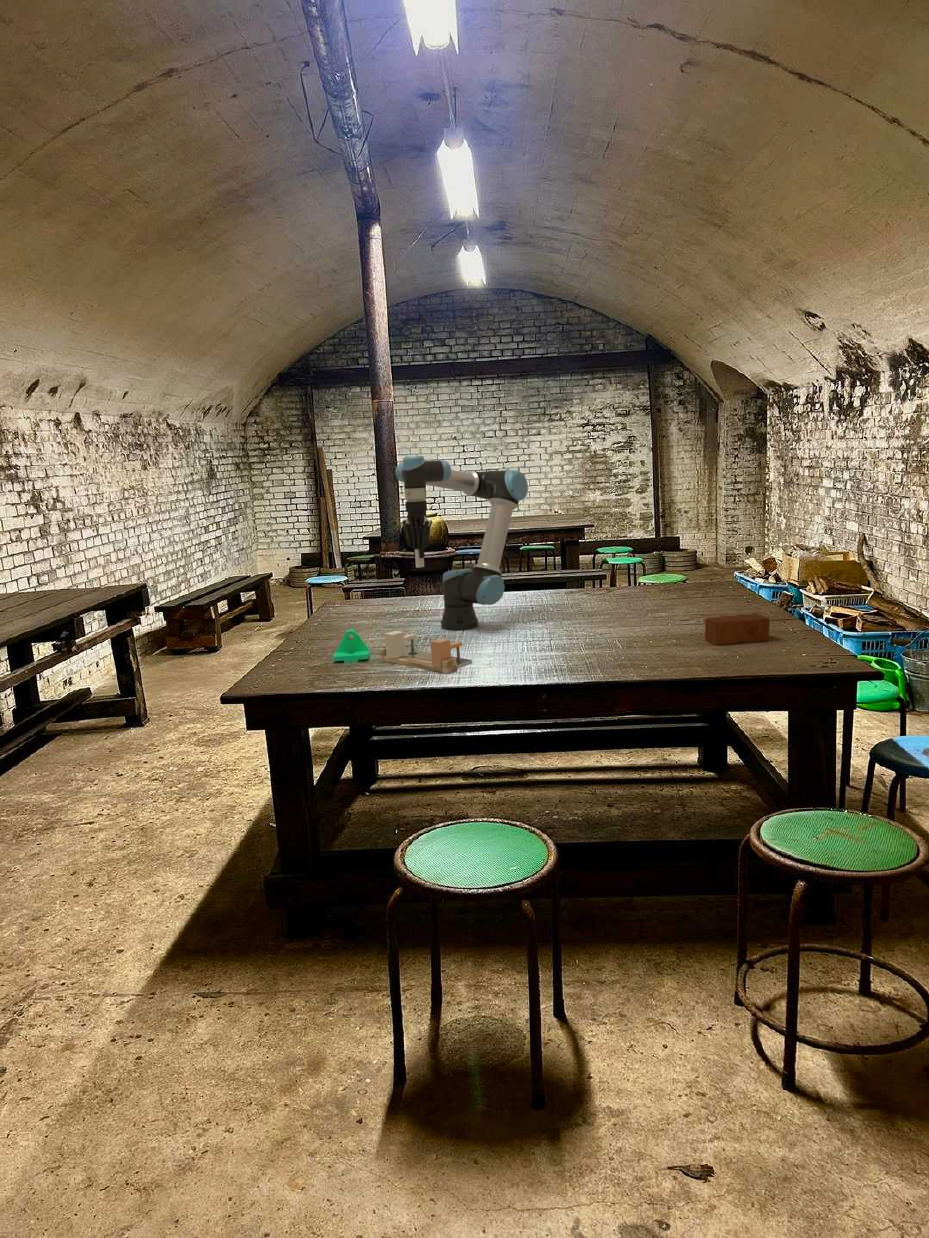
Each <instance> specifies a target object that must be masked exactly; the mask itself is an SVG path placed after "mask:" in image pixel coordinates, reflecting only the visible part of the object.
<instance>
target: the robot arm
mask: <svg viewBox="0 0 929 1238" xmlns="http://www.w3.org/2000/svg"><path fill="white" fill-rule="evenodd" d="M395 476H396V478H397V481H399V482H401V483H403V486H404V500H406V501H405V512H406V513H407V516H406V517H407V518H406V519H404V520H402V524H403V526H404V529H405V530H404V531H405V534H406V538H407V542H408V546H409V547H410V548H412V549H413V556H414V558H415V568H417V569H420V568H424V567H425V557H426V556H425V549H426V548H428V547H429V545H430V538H431V537H430V536H431V526H432V525H433V520H432V519H431V520H430V519H428V516H427V510H428V504H427V503H428V501H426V499H427V489H426V487H427V486H431V487H436V488H440V489H447V490H453V491H458V492H463V493H464V495H467V496H471V497H474V498H475V497H476V498H480V499H484V500H488V502H489V504H490V505H491V506H490V511H489V515H488V519H487V523H486V528H485V531H484V535H483V540H482V543H481V547H480V552H479V557H478V560H477V564H474V566H472V569H471V568H462V569H454V570H450V571H445V572H444V573H443V575H442V592H443V593H442V594H443V603H444V605H443V606H444V609H443V612H442V616H441V617H442V618H441V620H440V624H441V625H440V627H441V629H444V630H449V631H464V630H465V631H466V630H470V629H475V628H477V627H478V626H479V619H478V617H477V615H476V612H475V608H474V604H478V605H483V606H487V605H488V606H490V605H491V606H492V605H495V604H496V603H498V602H499V601H500V600H501V599H502V597H503V595H504V594H505V593H504V592H505V584H504V583H505V581H504V579H503V578H502V572H501V570H500V566H501V561H502V556H503V553H504V548H505V544H506V540H507V537H508V536H507V535H508V532H509V528H510V523H511V520H512V515H513V511H514V510H516V509H517V508H518V506H519V503H520V501H521V502H522V500H524V499H525V498H526V497H527V495H528V491H529V483H528V480H527V479H526V476H525V475H524V473H523V472H522V471H519V470H516V469H506V470H505V469H502V470H487V471H485V470H483V471H473V470H469V471H467V472H466V471H460V470H456V469H452V467H451V464H450V463H449V462H448V461H447V460H445V459H438V460H437V459H436V460H434V459H433V460H425V457H424V456H423V455H410V456H409V455H406V456H404V457H403V459H402V462H399V463H398V464H397V466H396V467H395Z"/></svg>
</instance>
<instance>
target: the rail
mask: <svg viewBox="0 0 929 1238" xmlns="http://www.w3.org/2000/svg"><path fill="white" fill-rule="evenodd" d="M378 653H379V654H378V655H379V661H380V662H387V663H393V664H397V665H402V666H407V667H411V668H417V669H421V670H426V671H431V672H436V673H440V674H441V673H442V674H443V675H449V674H450V673H454V672H456V671H458V668H457V662H456V658H451V659H448V660H445V661H442V668H439V667H434V666H432V662H430V661H425V660H420V659H414V658H409V657H404V656H402V657H398V658H395V659H394V658H389V657H387V656H386V647H382V648H379V649H378Z"/></svg>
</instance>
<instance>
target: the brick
mask: <svg viewBox="0 0 929 1238" xmlns="http://www.w3.org/2000/svg"><path fill="white" fill-rule="evenodd" d="M770 623H771V622H770V617H767V616H765V615H763V614H762V615H761V614H758V613H751V614H747V613H746V614H738V615H722V616H714V617H708V618H705V623H704V626H705V628H704V630H705V634H704V637H705V642H708V643H709V644H712V645H713V646H726V645H737V644H748V643H758V642H768V641H769V640H770Z"/></svg>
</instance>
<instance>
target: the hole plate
mask: <svg viewBox="0 0 929 1238" xmlns="http://www.w3.org/2000/svg"><path fill="white" fill-rule="evenodd" d="M404 657H409V658H414V659H420V660H425V661H430V662H432V657H431V651H430V652H429V651H425V650H424V651H423V650H419V649H418V650H417V649H414V652H411V649H410V650H407V651H406V650H405V656H404ZM451 658H456V662H457V669H458V668H462V667H464V666H467V665H471V664H473V660H472V659H467V658H462V657H460V660H459V661H458V660H457V656H452V655H451Z"/></svg>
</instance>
